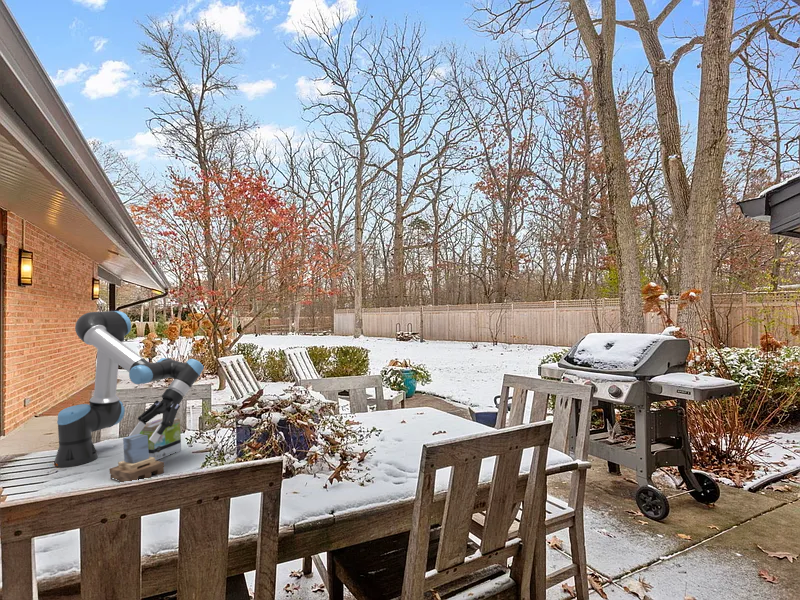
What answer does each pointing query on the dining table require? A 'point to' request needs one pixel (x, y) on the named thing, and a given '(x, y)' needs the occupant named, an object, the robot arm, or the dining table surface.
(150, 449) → the tea box
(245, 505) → the dining table surface
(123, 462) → the pallet
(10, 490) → the dining table surface
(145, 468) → the block
